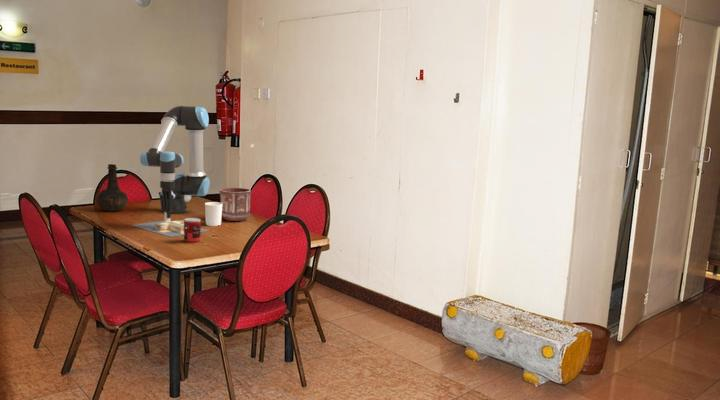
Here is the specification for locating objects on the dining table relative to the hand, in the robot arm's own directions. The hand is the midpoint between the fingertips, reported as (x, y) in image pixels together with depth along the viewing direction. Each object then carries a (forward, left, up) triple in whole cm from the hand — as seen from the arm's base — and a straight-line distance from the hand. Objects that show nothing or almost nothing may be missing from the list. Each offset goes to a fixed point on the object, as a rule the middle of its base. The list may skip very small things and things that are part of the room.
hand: (167, 223), depth 330 cm
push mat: (0, +2, -2) cm, 3 cm away
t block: (0, +8, -2) cm, 8 cm away
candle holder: (-24, +9, -2) cm, 26 cm away
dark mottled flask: (-3, -60, -2) cm, 61 cm away
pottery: (-42, +6, -2) cm, 43 cm away
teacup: (-55, -61, -2) cm, 83 cm away
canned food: (+9, +34, -2) cm, 35 cm away
